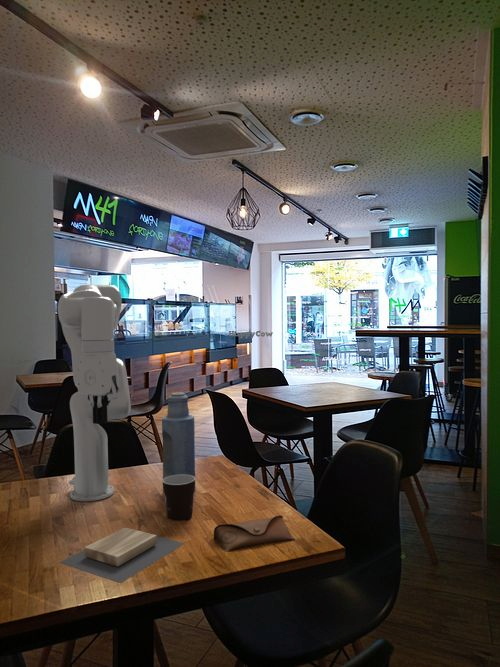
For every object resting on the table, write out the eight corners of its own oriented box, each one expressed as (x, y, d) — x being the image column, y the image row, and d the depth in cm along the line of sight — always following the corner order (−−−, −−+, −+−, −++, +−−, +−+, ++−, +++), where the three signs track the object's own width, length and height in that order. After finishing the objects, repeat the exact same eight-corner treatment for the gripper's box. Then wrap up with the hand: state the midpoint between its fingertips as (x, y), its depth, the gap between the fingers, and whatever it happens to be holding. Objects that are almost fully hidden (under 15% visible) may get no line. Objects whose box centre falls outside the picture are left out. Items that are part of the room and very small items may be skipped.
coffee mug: (190, 524, 127) (189, 485, 127) (158, 522, 129) (157, 483, 129) (203, 507, 139) (202, 471, 138) (173, 506, 140) (173, 470, 140)
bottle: (157, 491, 153) (154, 393, 152) (185, 484, 159) (183, 389, 158) (172, 500, 145) (170, 396, 144) (201, 492, 151) (199, 393, 150)
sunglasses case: (224, 553, 111) (218, 521, 114) (216, 557, 117) (211, 527, 120) (297, 539, 117) (291, 509, 120) (287, 544, 123) (280, 516, 126)
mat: (59, 563, 108) (59, 562, 108) (127, 529, 125) (127, 528, 125) (120, 585, 98) (120, 583, 98) (184, 545, 116) (184, 543, 116)
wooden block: (84, 547, 109) (117, 556, 104) (124, 527, 120) (156, 535, 115) (84, 558, 109) (118, 568, 104) (124, 537, 120) (156, 545, 115)
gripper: (64, 348, 123) (67, 423, 123) (108, 349, 115) (110, 428, 116) (89, 346, 129) (91, 417, 130) (131, 347, 122) (133, 422, 122)
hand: (100, 422), depth 123 cm, fingers closed
